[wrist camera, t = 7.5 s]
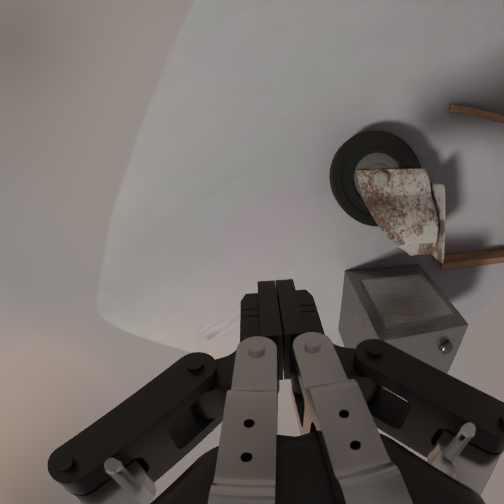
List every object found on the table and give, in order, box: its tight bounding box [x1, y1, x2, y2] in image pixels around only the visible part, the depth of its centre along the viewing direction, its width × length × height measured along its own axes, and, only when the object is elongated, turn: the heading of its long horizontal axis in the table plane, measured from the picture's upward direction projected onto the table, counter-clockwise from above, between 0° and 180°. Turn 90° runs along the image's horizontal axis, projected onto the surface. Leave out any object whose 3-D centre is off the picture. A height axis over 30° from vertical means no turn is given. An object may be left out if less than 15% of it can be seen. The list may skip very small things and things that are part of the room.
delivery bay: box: [433, 104, 504, 270], centre depth 27 cm, size 18×14×2 cm
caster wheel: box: [330, 131, 445, 263], centre depth 26 cm, size 7×11×10 cm
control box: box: [339, 264, 468, 395], centre depth 29 cm, size 9×9×12 cm
